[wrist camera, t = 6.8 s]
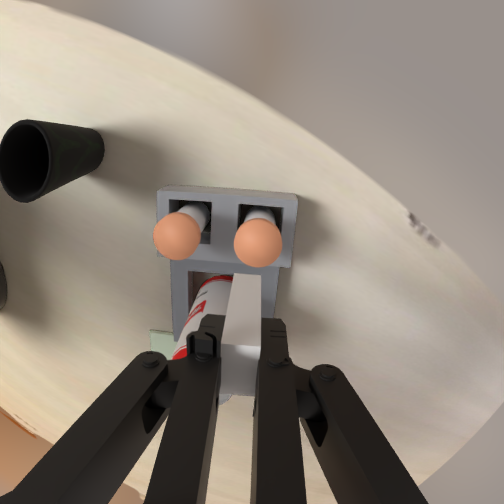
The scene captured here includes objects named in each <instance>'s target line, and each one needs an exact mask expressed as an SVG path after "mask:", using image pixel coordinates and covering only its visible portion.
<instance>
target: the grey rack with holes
mask: <svg viewBox="0 0 504 504" xmlns="http://www.w3.org/2000/svg"><path fill="white" fill-rule="evenodd" d="M179 200H192V201H208V202H212V213H211V233H208V232H202V233H201V239H200V243H199V245H198V247H197V248H196V250H195V252H194V253H193V254H192V255H191V256H190V257H188V258H186V259H183V260H172V259H170V267H171V297H172V318H173V335H174V341H175V342H178V340H179V338H180V335H181V333H182V330H183V328H184V326H185V323H186V321H187V318H188V316H189V313H190V311H191V309H192V306H193V287H192V271H197V272H208V273H219V274H230V275H234V273H238V274H251V275H261V317H262V318H274V310H275V301H276V293H277V285H278V276H279V267H287V268H290V266H291V259H292V250H293V242H294V234H295V225H296V216H297V207H298V199H297V197H296V195H295V194H293V193H282V192H271V191H259V190H247V189H233V188H218V187H201V186H182V185H167V186H165V187H163V188H161V189H159V190H157V223H158V222H159V221H160V220H161V219H162V218H163V217H165V216H166V215H168V214H170V213H173V212H177V211H179ZM241 204H250V205H262V206H273V207H281V217H280V227H279V231H280V233H281V237H282V250H281V253H280V255H279V257H278V258H277V259H276V261H274V262H273V263H272V264H270V265H268V266H265V267H251V266H249V265H246V264H245V263H243V262H242V261H241V260H240V259H239V258H238V256H237V255H236V253H235V250H234V239H235V235H236V232H237V230H238V228H239V227H240V214H241ZM157 256H161V257H165V256H163V255H162V254H161V253H160V252H159V251H158V250H157Z"/></svg>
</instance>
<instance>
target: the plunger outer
mask: <svg viewBox="0 0 504 504" xmlns="http://www.w3.org/2000/svg"><path fill="white" fill-rule="evenodd" d="M234 250H235V253H236V255H237V256H238V258H239V259H240V260H241V261H242V262H243V263H245V264H246V265H249V266H251V267H265V266H268V265H270V264H272V263H273V262H274V261H276V259H277V258H278V257H279V255H280V253H281V250H282V237H281V233H280V231H279V229H278V228H277V226H276V224H275V216H274V214H273V212H272V211H271V210H270V209H269V208H267V207H265V206H255V207H253V208H251V209H250V210H249V211H248V212H247V214H246V217H245V220H244V223H243V224H242V225H241V226H240V227H239V228H238V230H237V232H236V235H235V239H234Z"/></svg>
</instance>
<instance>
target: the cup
mask: <svg viewBox="0 0 504 504" xmlns="http://www.w3.org/2000/svg"><path fill="white" fill-rule="evenodd" d="M103 157H104V143H103V139H102V138H101V136H100V134H99V133H98V132H97V131H95V130H93V129H90V128H84V127H78V126H72V125H65V124H58V123H51V122H44V121H36V120H28V119H26V120H20V121H18V122H16V123H15V124H13V125H12V126H11V127H10V128H9V129H8V130H7V132H6V133H5V135H4V136H3V139H2V141H1V144H0V181H1V183H2V185H3V188H4V189H5V191H6V192H7V193H8V195H9V196H11V197H12V198H13V199H14V200H16V201H19V202H24V203H28V202H31V201H34V200H36V199H38V198H40V197H41V196H43V195H45V194H47V193H49V192H51V191H53V190H55V189H57V188H59V187H61V186H63V185H65V184H67V183H69V182H71V181H73V180H75V179H77V178H79V177H81V176H84V175H86V174H88V173H90V172H92V171H94V170H95V169H96V168H97V167H98V166H99V165H100V163H101V162H102V159H103Z"/></svg>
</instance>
